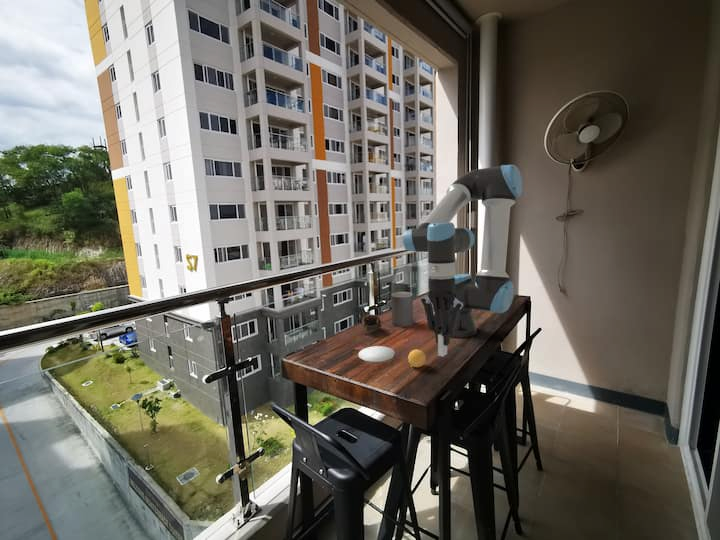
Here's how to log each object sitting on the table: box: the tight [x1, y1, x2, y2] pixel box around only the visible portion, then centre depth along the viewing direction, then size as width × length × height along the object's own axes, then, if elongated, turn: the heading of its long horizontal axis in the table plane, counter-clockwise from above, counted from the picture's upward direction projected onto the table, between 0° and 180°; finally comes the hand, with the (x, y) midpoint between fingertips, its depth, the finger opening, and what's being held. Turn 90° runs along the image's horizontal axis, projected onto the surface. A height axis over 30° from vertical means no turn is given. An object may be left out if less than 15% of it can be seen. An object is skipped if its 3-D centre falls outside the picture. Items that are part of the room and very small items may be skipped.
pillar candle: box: [390, 291, 414, 328], centre depth 146 cm, size 10×10×15 cm
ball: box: [407, 348, 426, 368], centre depth 105 cm, size 6×6×6 cm
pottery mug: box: [358, 314, 383, 335], centre depth 140 cm, size 12×10×8 cm
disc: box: [357, 345, 396, 363], centre depth 117 cm, size 13×13×1 cm
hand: (442, 354), depth 97 cm, fingers closed
